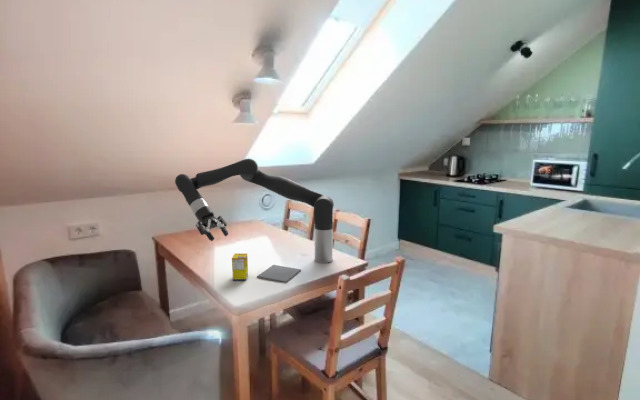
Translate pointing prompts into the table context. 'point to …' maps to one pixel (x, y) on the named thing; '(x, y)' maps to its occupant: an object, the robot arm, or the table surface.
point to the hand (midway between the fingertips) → (220, 237)
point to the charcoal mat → (279, 273)
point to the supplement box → (240, 267)
